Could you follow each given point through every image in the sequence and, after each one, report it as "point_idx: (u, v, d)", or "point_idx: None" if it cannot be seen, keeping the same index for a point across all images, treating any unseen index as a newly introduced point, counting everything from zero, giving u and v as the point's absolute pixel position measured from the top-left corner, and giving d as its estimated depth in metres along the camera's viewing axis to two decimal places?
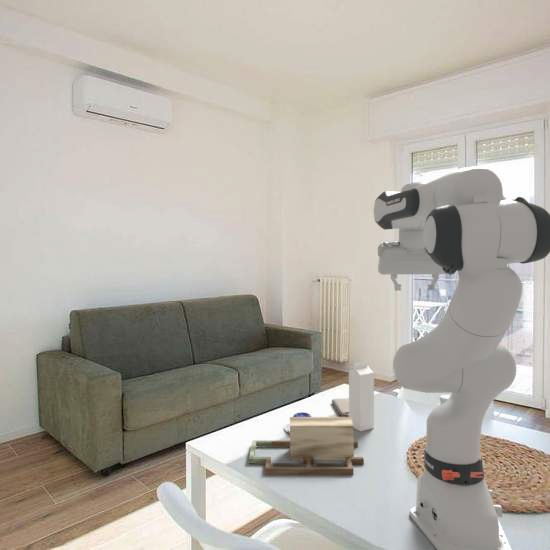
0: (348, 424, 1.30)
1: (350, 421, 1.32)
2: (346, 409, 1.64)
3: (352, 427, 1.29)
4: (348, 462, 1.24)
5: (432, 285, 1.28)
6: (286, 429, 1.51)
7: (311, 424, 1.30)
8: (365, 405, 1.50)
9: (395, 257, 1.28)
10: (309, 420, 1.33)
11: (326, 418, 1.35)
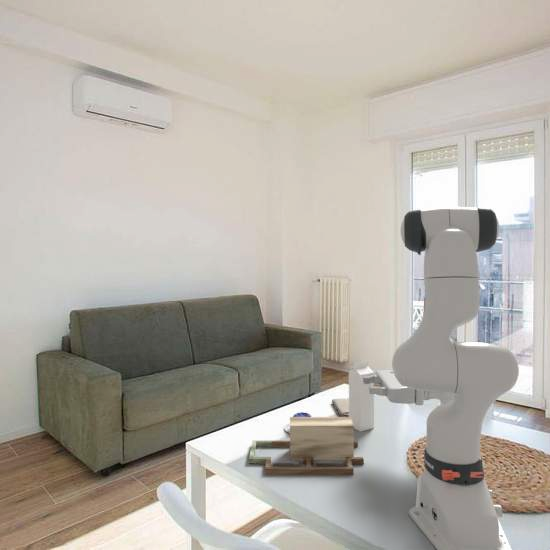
0: (348, 424, 1.30)
1: (350, 421, 1.32)
2: (346, 409, 1.64)
3: (352, 427, 1.29)
4: (348, 462, 1.24)
5: (374, 387, 1.27)
6: (286, 429, 1.51)
7: (311, 424, 1.30)
8: (365, 405, 1.50)
9: (393, 374, 1.37)
10: (310, 420, 1.33)
11: (326, 418, 1.35)
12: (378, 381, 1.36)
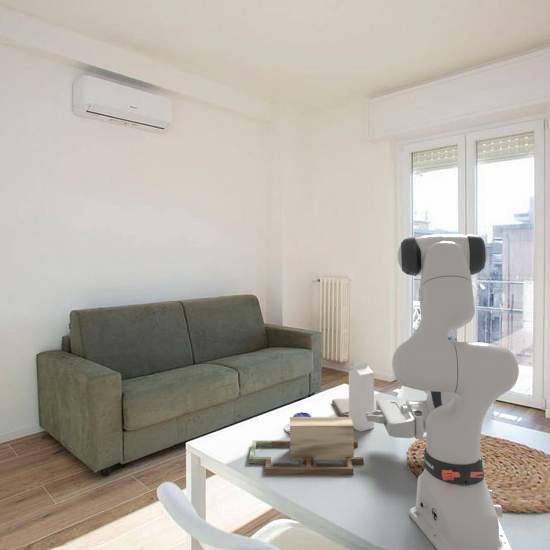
0: (348, 424, 1.30)
1: (350, 421, 1.32)
2: (346, 409, 1.64)
3: (352, 427, 1.29)
4: (348, 462, 1.24)
5: (371, 414, 1.32)
6: (286, 430, 1.51)
7: (311, 424, 1.30)
8: (365, 405, 1.50)
9: (394, 404, 1.38)
10: (310, 420, 1.33)
11: (326, 418, 1.35)
12: None
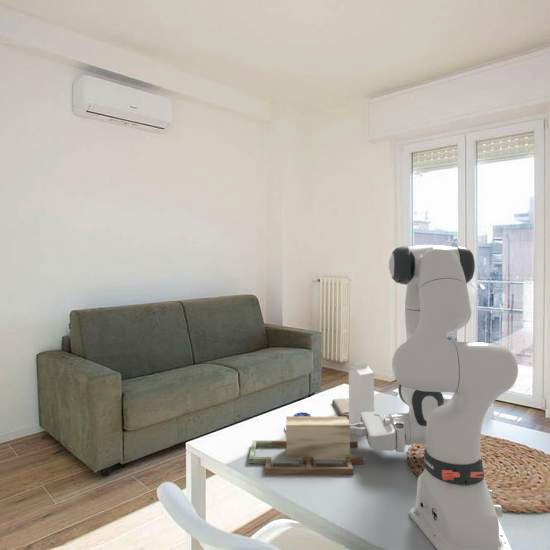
0: (345, 423, 1.30)
1: (346, 421, 1.32)
2: (346, 409, 1.64)
3: (348, 426, 1.29)
4: (348, 462, 1.24)
5: (354, 426, 1.32)
6: None
7: (308, 423, 1.30)
8: (365, 405, 1.50)
9: (377, 416, 1.38)
10: (306, 420, 1.33)
11: (322, 417, 1.35)
12: None
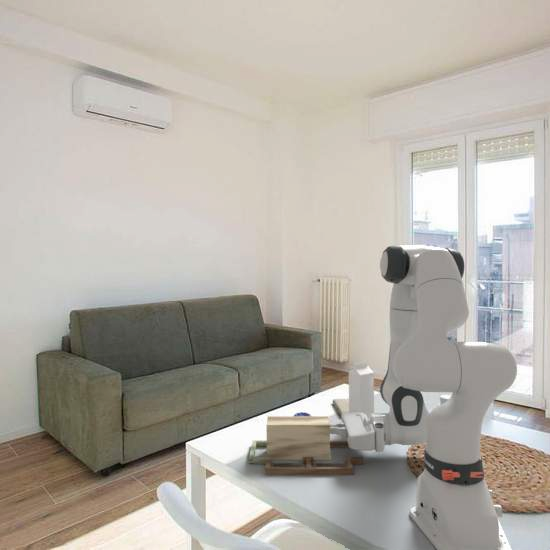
0: (325, 423, 1.30)
1: (327, 420, 1.32)
2: (346, 409, 1.64)
3: (328, 426, 1.29)
4: (348, 462, 1.24)
5: (334, 426, 1.32)
6: None
7: (288, 423, 1.30)
8: (365, 405, 1.50)
9: (358, 416, 1.38)
10: (287, 420, 1.33)
11: (303, 417, 1.35)
12: None
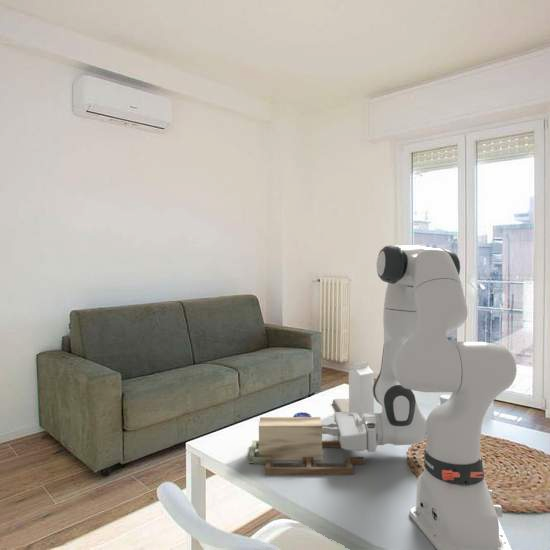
0: (317, 424, 1.30)
1: (319, 421, 1.32)
2: (346, 409, 1.64)
3: (320, 427, 1.29)
4: (348, 462, 1.24)
5: (326, 426, 1.32)
6: None
7: (280, 424, 1.30)
8: (365, 405, 1.50)
9: (351, 416, 1.38)
10: (279, 420, 1.33)
11: (296, 418, 1.35)
12: None
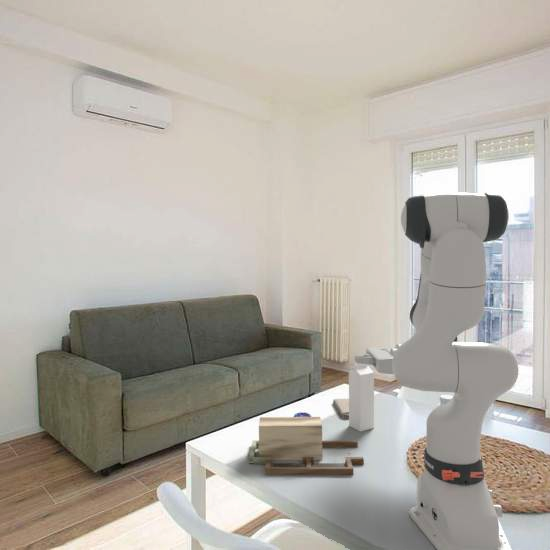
0: (317, 424, 1.30)
1: (319, 421, 1.32)
2: (347, 409, 1.64)
3: (321, 427, 1.29)
4: (348, 462, 1.24)
5: (361, 356, 1.30)
6: None
7: (280, 424, 1.30)
8: (365, 405, 1.50)
9: (383, 350, 1.37)
10: (279, 420, 1.33)
11: (296, 418, 1.35)
12: None
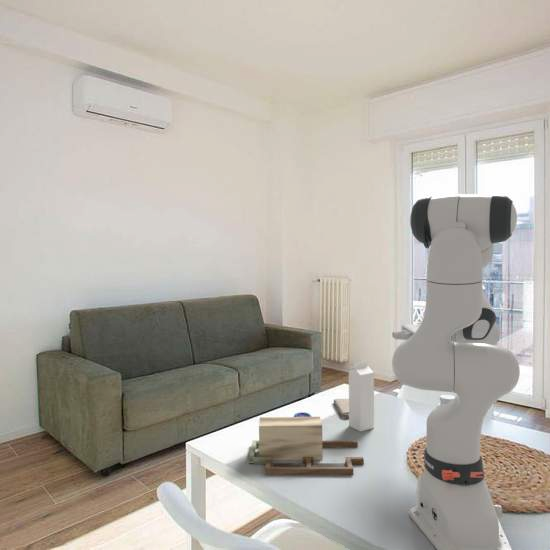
0: (317, 423, 1.30)
1: (319, 421, 1.33)
2: (347, 409, 1.64)
3: (321, 427, 1.29)
4: (348, 462, 1.24)
5: (399, 332, 1.35)
6: None
7: (280, 424, 1.30)
8: (365, 405, 1.50)
9: None
10: (279, 420, 1.33)
11: (296, 418, 1.35)
12: None
